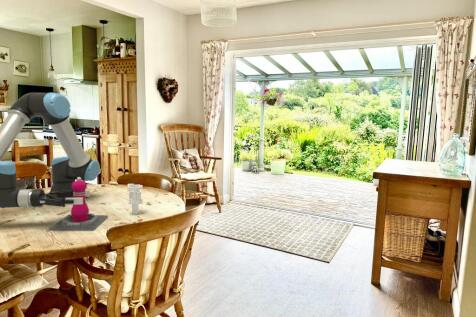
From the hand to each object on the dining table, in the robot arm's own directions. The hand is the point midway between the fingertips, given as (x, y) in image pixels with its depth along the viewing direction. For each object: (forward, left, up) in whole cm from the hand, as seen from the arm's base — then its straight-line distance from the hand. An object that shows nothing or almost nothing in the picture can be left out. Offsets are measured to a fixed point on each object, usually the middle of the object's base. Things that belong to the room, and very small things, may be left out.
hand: (86, 196), depth 144 cm
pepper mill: (0, -3, -11) cm, 12 cm away
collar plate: (0, -3, -12) cm, 12 cm away
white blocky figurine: (-16, +17, -12) cm, 26 cm away
